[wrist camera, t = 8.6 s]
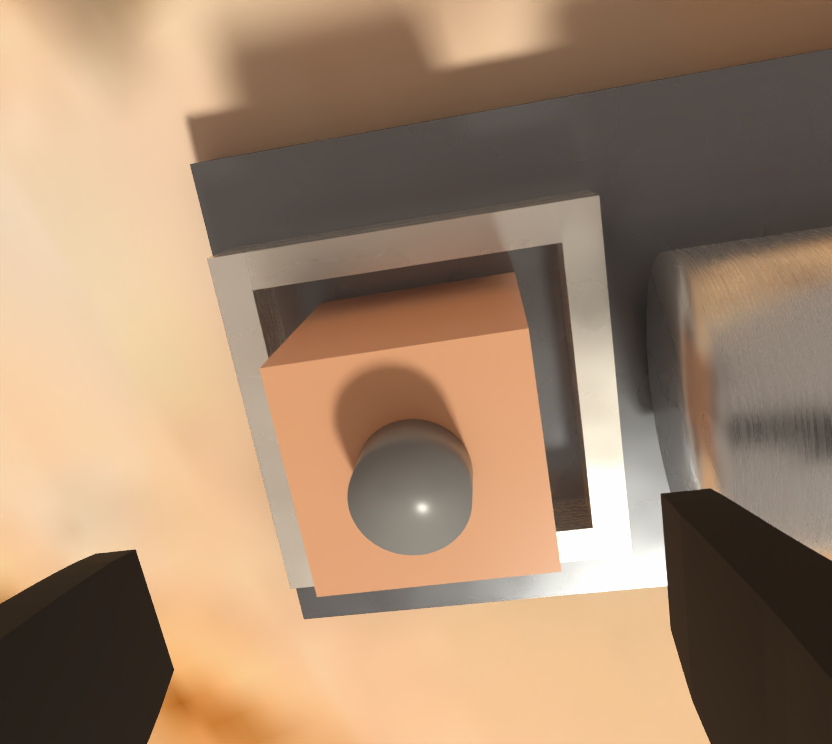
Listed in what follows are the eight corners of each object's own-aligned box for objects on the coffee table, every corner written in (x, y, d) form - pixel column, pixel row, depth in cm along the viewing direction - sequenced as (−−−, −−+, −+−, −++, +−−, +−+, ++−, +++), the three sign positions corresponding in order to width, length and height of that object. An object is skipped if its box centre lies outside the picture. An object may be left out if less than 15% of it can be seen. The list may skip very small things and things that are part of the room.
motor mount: (1154, -9, 15) (1716, -127, 8) (1091, 522, 18) (1444, 747, 11) (205, 162, 17) (33, 180, 11) (312, 596, 21) (232, 815, 14)
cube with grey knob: (514, 271, 16) (533, 345, 11) (539, 454, 18) (567, 606, 12) (321, 302, 17) (241, 388, 11) (359, 477, 18) (305, 631, 13)
